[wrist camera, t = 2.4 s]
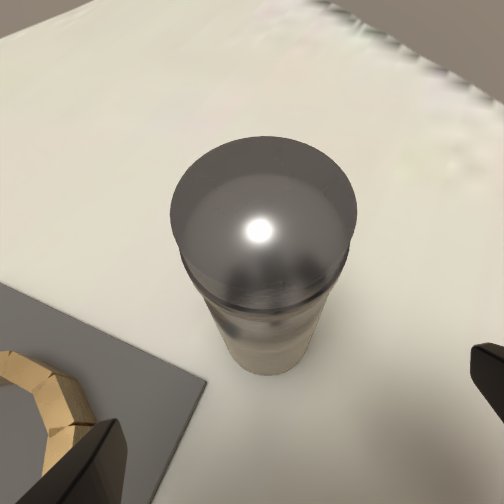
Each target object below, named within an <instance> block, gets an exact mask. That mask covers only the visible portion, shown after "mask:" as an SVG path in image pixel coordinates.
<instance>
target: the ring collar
mask: <svg viewBox="0 0 504 504" xmlns="http://www.w3.org/2000/svg"><path fill="white" fill-rule="evenodd" d="M76 380H77V379H76V378H74V377H72V376H70V375H68V374H66V373H64V372H62V371H60V370H59V369H57V368H55V367H53V366H51V365H49V364H47V363H45V362H43V361H41V360H39V359H36V358H33V357H30V356H27V355H23V354H20V353H17V352H14V351H10V350H9V351H1V352H0V386H3V385H11V384H16V385H18V386H20V387H21V388H23V389H25V390H27V391H29V392H30V393H32V394H33V396H34V399H35V401H36V404H37V406H38V409H39V412H40V414H41V417H42V419H43V422H44V425H45V427H46V430H47V432H48V438H47V445H46V451H45V458H44V464H43V471H42V476H43V475H44V474H45V473H46V472H47V471H48V470H50V469H51V468H52V467H53V466H54V465H55V464H56V463H57V462H58V461H59V460H60V459H61V458H62V457H63V456H64V455H65V454H66V453H67V452H68V451H69V450H70V449H71V448H72V447H73V446H74V445H75V444H76V443H77V442H78V441H79V440H80V439H81V438H82V437H83V436H84V435H85V434H86V433H87V432H88V431H89V430H90V429H91V428H92V427H93V426H94V425H96V424H97V423H98V422H97V420H96V418H95V415H94V413H93V411H92V409H91V407H90V404H89V402H88V400H87V398H86V396H85V393H84V391H83V389H82V387H81V385H80V382H79V381H76Z"/></svg>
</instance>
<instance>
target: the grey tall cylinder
mask: <svg viewBox="0 0 504 504" xmlns="http://www.w3.org/2000/svg"><path fill="white" fill-rule="evenodd" d="M356 220H357V202H356V198H355V194H354V191H353V188H352V186H351V183H350V182H349V180H348V178H347V176H346V175H345V173H344V172H343V171H342V170H341V168H340V167H339V166H338V165H337V164H336V163H335V162H334V161H333V160H332V159H331V158H329V157H328V156H327V155H325V154H324V153H322V152H321V151H319V150H317V149H316V148H314V147H312V146H309V145H307V144H305V143H302V142H299V141H296V140H292V139H287V138H282V137H272V136H259V137H249V138H243V139H239V140H235V141H231V142H229V143H226V144H223V145H221V146H219V147H217V148H215V149H213V150H211V151H209V152H208V153H206V154H205V155H203V156H202V157H201V158H199V159H198V160H197V161H195V162H194V163H193V164H192V165H191V166H190V167H189V168H188V170H187V171H186V172H185V174H184V175H183V176H182V178H181V179H180V181H179V183H178V185H177V187H176V189H175V192H174V194H173V198H172V202H171V209H170V221H171V227H172V232H173V235H174V238H175V240H176V242H177V245H178V247H179V251H180V255H181V259H182V262H183V264H184V267H185V269H186V271H187V273H188V275H189V277H190V279H191V281H192V282H193V284H194V286H195V287H196V289H197V290H198V291H199V293H200V294H201V295H202V296H203V298H204V300H205V302H206V304H207V306H208V308H209V311H210V313H211V315H212V317H213V319H214V321H215V323H216V325H217V327H218V329H219V331H220V333H221V335H222V337H223V339H224V341H225V343H226V346H227V348H228V350H229V352H230V354H231V355H232V357H233V358H234V360H235V361H236V362H237V363H238V364H239V365H240V366H241V367H243V368H244V369H246V370H247V371H249V372H252V373H254V374H258V375H264V376H271V375H277V374H281V373H284V372H286V371H288V370H289V369H291V368H292V367H294V366H295V365H296V364H297V363H298V362H299V361H300V359H301V358H302V356H303V355H304V353H305V351H306V348H307V346H308V344H309V341H310V339H311V336H312V334H313V331H314V329H315V326H316V324H317V321H318V319H319V317H320V314H321V312H322V309H323V307H324V304H325V302H326V299H327V297H328V295H329V292H330V291H331V290H332V288H333V287H334V285H335V284H336V282H337V281H338V278H339V276H340V274H341V272H342V269H343V267H344V265H345V262H346V260H347V256H348V252H349V247H350V241H351V238H352V236H353V233H354V229H355V226H356Z"/></svg>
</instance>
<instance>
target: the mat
mask: <svg viewBox="0 0 504 504" xmlns="http://www.w3.org/2000/svg"><path fill="white" fill-rule="evenodd" d="M9 350H10V351H14V352H17V353H20V354H23V355H27V356H30V357H33V358H36V359H39V360H41V361H43V362H45V363H47V364H49V365H51V366H53V367H55V368H57V369H59V370H60V371H62V372H64V373H66V374H68V375H70V376H72V377H74V378H76V379H77V380H76V381H79V382H80V385H81V387H82V389H83V391H84V393H85V396H86V398H87V400H88V402H89V404H90V407H91V409H92V411H93V413H94V415H95V418H96V420H97V422H99V421H101V420H105V419H110V418H117V419H118V420H119V422H120V424H121V427H122V430H123V433H124V436H125V439H126V442H127V446H128V455H127V463H126V470H125V477H124V485H123V492H122V499H121V504H150V503H151V501H152V499H153V496H154V494H155V492H156V490H157V488H158V486H159V484H160V482H161V479H162V477H163V475H164V473H165V471H166V469H167V467H168V465H169V462H170V460H171V458H172V456H173V454H174V452H175V450H176V448H177V445H178V443H179V441H180V439H181V437H182V435H183V433H184V431H185V428H186V426H187V424H188V422H189V420H190V418H191V416H192V414H193V411H194V409H195V407H196V405H197V403H198V401H199V399H200V397H201V394H202V392H203V390H204V388H205V386H206V384H207V382H206V381H204V380H202V379H200V378H198V377H196V376H193V375H191V374H189V373H187V372H185V371H183V370H181V369H179V368H177V367H175V366H173V365H170V364H168V363H166V362H164V361H162V360H160V359H158V358H156V357H154V356H152V355H150V354H147V353H145V352H143V351H141V350H139V349H137V348H135V347H133V346H131V345H129V344H126V343H124V342H122V341H120V340H118V339H116V338H114V337H112V336H110V335H108V334H106V333H103V332H101V331H99V330H97V329H95V328H93V327H91V326H89V325H87V324H85V323H83V322H80V321H78V320H76V319H74V318H72V317H70V316H68V315H66V314H64V313H62V312H59V311H57V310H55V309H53V308H51V307H49V306H47V305H45V304H43V303H41V302H39V301H36V300H34V299H32V298H30V297H28V296H26V295H24V294H22V293H20V292H18V291H16V290H13V289H11V288H9V287H7V286H5V285H3V284H1V283H0V352H1V351H9ZM47 438H48V432H47V430H46V427H45V425H44V422H43V419H42V417H41V414H40V412H39V409H38V406H37V404H36V401H35V399H34V396H33V394H32V393H30V392H29V391H27V390H25V389H23V388H21V387H20V386H18V385H16V384H11V385H3V386H0V504H15V503H16V502H17V501H18V500H19V499H20V498H21V497H22V496H23V495H24V494H25V493H26V492H27V491H28V490H29V489H30V488H31V487H32V486H33V485H34V484H35V483H36V482H37V481H38V480H39V479H40V478H41V477H42V471H43V464H44V458H45V451H46V445H47Z"/></svg>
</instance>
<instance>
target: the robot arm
mask: <svg viewBox="0 0 504 504" xmlns="http://www.w3.org/2000/svg"><path fill="white" fill-rule="evenodd" d="M470 375H471V378H472V380H473V382H474V384H475V385H476V386H477V388H478V389H479V390H480V392H481V393H482V395H483V396H484V397H485V399H486V400H487V401H488V403H489V404H490V405H491V407H492V408H493V409H494V411H495V412H496V414H497V415H498V416H499V418H500V419H501V420H502V422H503V423H504V347H503V346H500V345H497V344H493V343H482V344H477V345H474V346H473V347H472V348H471V359H470ZM127 455H128V446H127V442H126V439H125V436H124V433H123V430H122V427H121V424H120V422H119V420H118V419H117V418H110V419H105V420H101V421H99V422H98V423H97V424H96V425H94V426H93V427H92V428H91V429H90V430H89V431H88V432H87V433H86V434H85V435H84V436H83V437H82V438H81V439H80V440H79V441H78V442H77V443H76V444H75V445H74V446H73V447H72V448H71V449H70V450H69V451H68V452H67V453H66V454H65V455H64V456H63V457H62V458H61V459H60V460H59V461H58V462H57V463H56V464H55V465H54V466H53V467H52V468H51V469H50V470H48V471H47V472H46V473H45V474H44V475H43V476H42V477H41V478H40V479H39V480H38V481H37V482H36V483H35V484H34V485H33V486H32V487H31V488H30V489H29V490H28V491H27V492H26V493H25V494H24V495H23V496H22V497H21V498H20V499H19V500H18V501H17V502H16V503H15V504H121V499H122V492H123V485H124V477H125V470H126V463H127Z"/></svg>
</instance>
